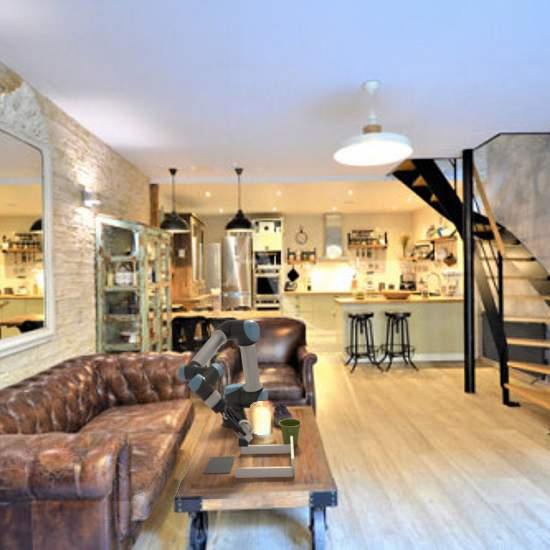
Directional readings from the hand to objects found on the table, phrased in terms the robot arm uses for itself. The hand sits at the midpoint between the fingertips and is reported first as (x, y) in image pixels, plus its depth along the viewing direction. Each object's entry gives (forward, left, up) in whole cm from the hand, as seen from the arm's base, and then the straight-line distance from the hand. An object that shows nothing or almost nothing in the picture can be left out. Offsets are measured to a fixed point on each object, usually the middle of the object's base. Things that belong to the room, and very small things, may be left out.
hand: (251, 437), depth 188 cm
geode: (-57, +14, -14) cm, 60 cm away
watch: (0, -4, -3) cm, 5 cm away
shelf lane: (-2, +7, -14) cm, 15 cm away
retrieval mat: (-2, -15, -14) cm, 21 cm away
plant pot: (-24, +19, -14) cm, 33 cm away
